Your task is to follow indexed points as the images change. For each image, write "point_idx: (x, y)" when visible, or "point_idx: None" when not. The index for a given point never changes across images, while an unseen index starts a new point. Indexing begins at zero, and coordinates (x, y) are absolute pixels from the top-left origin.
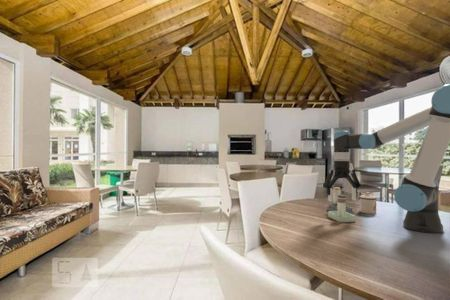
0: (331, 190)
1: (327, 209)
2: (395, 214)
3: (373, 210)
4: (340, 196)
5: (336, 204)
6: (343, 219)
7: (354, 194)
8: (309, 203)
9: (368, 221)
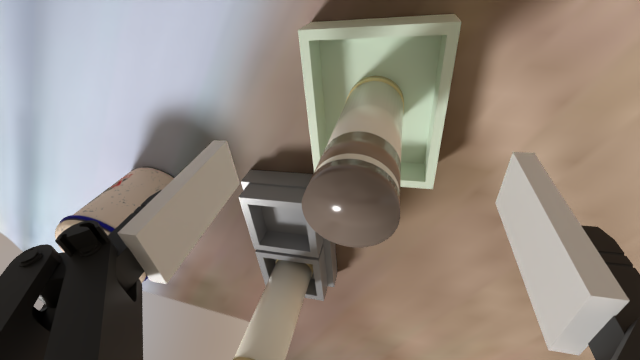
0: (595, 273)
1: (336, 273)
2: (49, 138)
3: (131, 176)
4: (387, 186)
5: (297, 270)
6: (418, 18)
7: (193, 183)
8: (353, 354)
9: (220, 17)
